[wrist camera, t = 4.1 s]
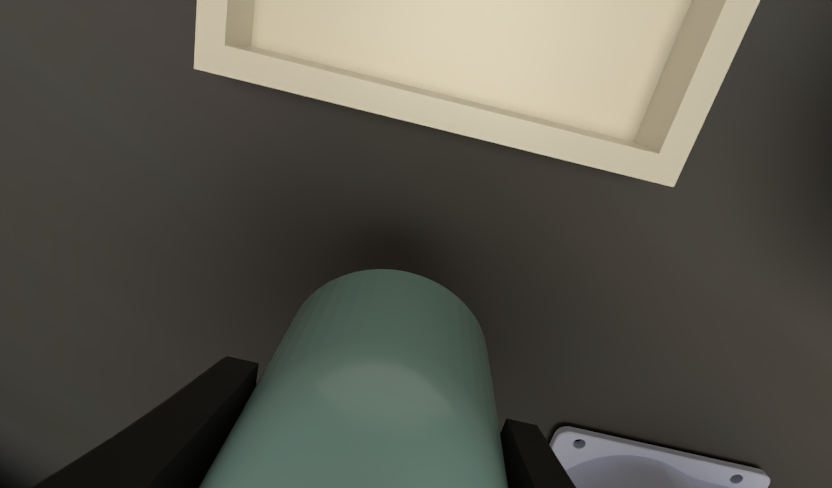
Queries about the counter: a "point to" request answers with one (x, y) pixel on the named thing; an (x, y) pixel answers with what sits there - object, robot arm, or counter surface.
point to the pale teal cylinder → (370, 395)
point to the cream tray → (498, 67)
